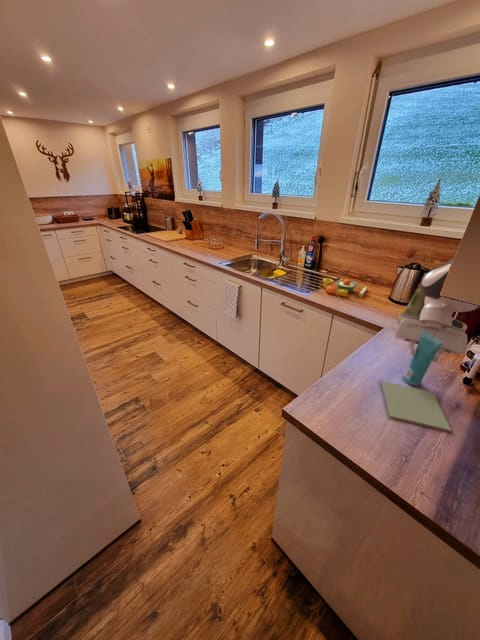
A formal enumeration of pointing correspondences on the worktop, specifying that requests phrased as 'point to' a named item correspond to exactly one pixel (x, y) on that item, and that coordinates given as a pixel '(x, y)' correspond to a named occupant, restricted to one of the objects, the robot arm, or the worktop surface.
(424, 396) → the mat
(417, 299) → the pouch
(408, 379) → the tube
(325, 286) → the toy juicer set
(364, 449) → the worktop surface
